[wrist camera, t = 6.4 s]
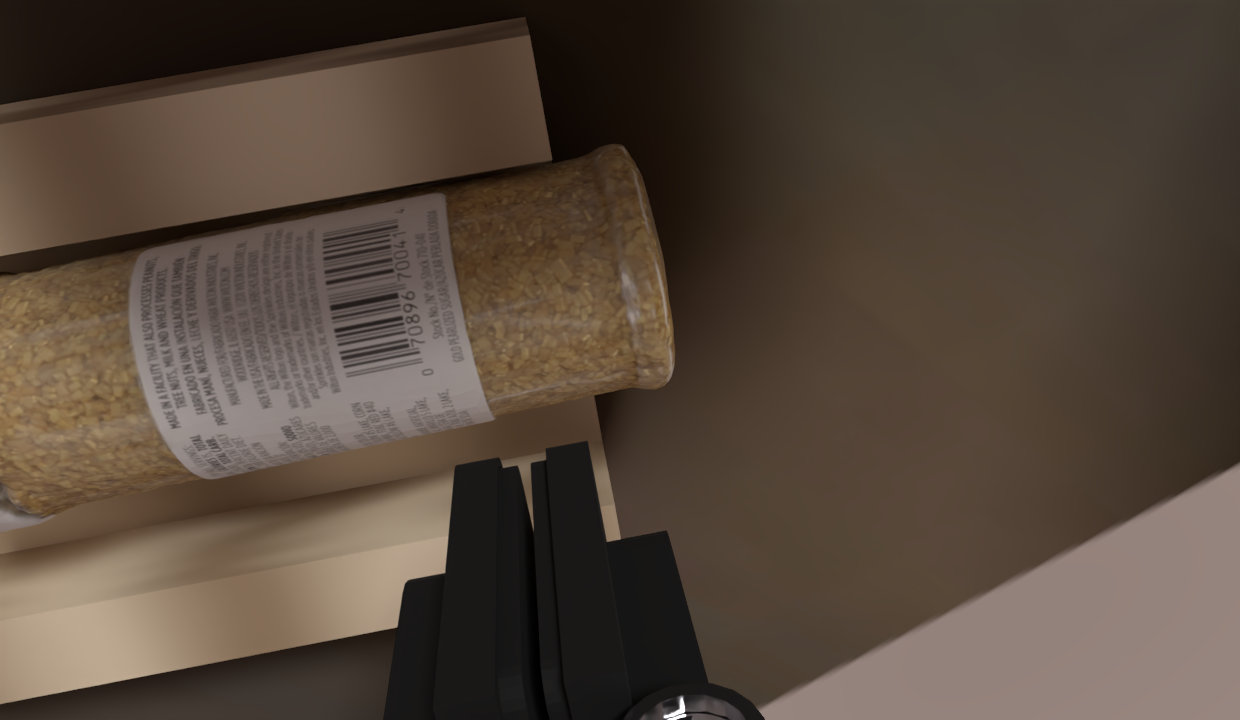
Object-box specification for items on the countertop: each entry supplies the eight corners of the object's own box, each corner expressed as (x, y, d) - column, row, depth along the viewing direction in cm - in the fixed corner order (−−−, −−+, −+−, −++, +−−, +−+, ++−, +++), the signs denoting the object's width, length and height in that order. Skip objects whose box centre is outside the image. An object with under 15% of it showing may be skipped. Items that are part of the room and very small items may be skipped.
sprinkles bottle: (620, 146, 19) (-52, 279, 18) (644, 131, 14) (-249, 308, 14) (662, 365, 19) (21, 498, 19) (696, 416, 15) (-141, 592, 14)
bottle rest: (525, 16, 17) (529, 35, 15) (612, 495, 22) (629, 582, 19) (-283, 151, 17) (-451, 200, 14) (-16, 613, 22) (-98, 722, 19)
